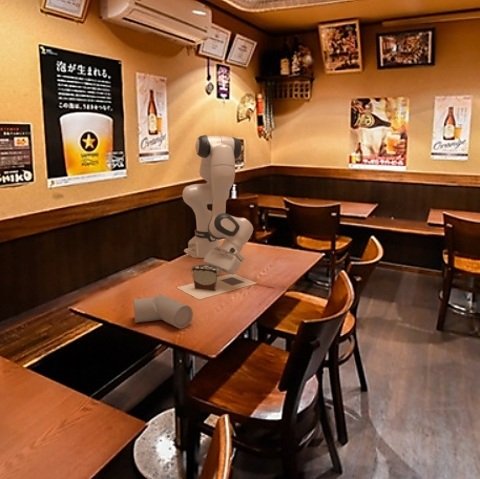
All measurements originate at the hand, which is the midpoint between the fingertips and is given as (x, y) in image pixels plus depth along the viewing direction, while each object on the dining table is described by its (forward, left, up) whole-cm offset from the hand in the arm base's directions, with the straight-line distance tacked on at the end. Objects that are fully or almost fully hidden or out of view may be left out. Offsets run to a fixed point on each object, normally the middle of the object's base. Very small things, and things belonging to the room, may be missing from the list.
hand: (211, 276), depth 198 cm
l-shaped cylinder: (+18, -34, -5) cm, 39 cm away
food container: (-1, -2, -5) cm, 5 cm away
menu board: (0, +3, -5) cm, 6 cm away
